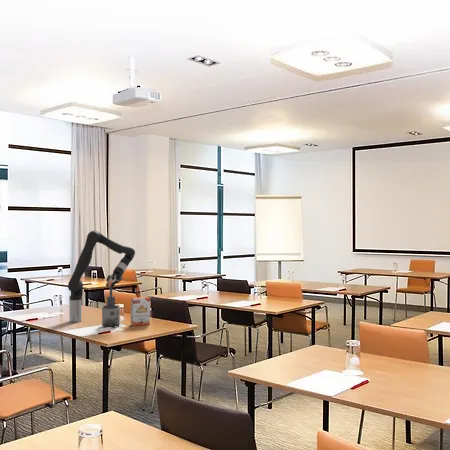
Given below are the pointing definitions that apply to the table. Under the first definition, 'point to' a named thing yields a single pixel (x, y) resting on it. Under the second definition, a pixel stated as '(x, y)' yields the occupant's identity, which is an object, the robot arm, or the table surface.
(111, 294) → the plunger
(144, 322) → the cracker box
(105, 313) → the detonator box
